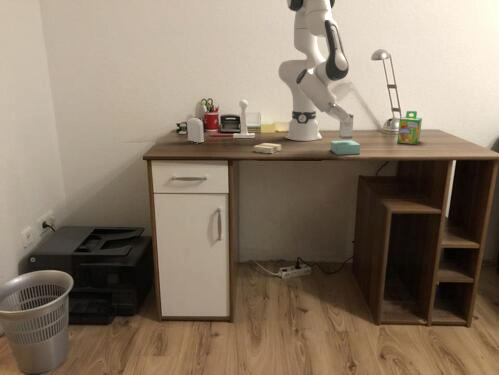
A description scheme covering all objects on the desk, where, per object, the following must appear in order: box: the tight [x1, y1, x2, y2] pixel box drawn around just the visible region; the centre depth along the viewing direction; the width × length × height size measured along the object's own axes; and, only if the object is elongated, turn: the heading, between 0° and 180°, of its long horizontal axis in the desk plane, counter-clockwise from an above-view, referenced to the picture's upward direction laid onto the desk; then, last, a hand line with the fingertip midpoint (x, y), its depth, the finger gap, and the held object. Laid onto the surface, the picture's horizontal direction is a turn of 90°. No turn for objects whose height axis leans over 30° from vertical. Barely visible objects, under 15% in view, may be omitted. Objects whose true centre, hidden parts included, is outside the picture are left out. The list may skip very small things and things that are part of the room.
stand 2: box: [330, 139, 361, 155], centre depth 188 cm, size 10×10×4 cm
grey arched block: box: [186, 117, 205, 142], centre depth 214 cm, size 10×4×12 cm, turn 39°
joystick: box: [233, 99, 256, 139], centre depth 222 cm, size 11×8×20 cm
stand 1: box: [253, 142, 282, 154], centre depth 193 cm, size 9×9×2 cm
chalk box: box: [396, 110, 423, 145], centre depth 204 cm, size 9×9×15 cm
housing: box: [339, 113, 354, 140], centre depth 185 cm, size 4×4×10 cm
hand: (347, 124), depth 185 cm, fingers closed on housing, 4 cm apart
